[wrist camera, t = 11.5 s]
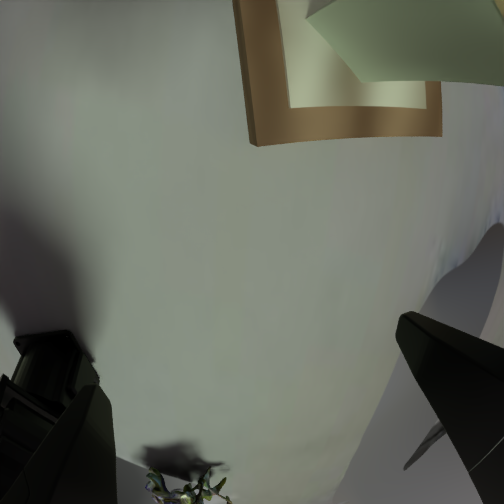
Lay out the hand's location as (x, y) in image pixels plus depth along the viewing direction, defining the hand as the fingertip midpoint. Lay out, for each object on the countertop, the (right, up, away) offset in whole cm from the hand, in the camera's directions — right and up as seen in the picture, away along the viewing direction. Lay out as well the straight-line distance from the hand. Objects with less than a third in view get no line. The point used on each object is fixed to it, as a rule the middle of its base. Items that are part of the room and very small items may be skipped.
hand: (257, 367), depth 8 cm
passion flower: (-10, -27, +26) cm, 38 cm away
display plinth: (+6, +17, +8) cm, 20 cm away
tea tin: (+6, +16, +6) cm, 18 cm away
